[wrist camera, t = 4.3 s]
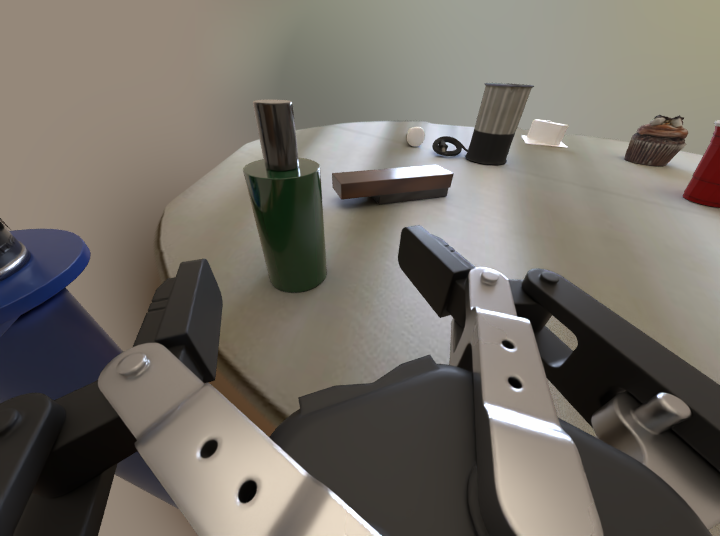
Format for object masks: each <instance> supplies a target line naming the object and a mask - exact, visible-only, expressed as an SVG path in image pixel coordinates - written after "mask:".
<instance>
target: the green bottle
mask: <svg viewBox="0 0 720 536" xmlns="http://www.w3.org/2000/svg"><path fill="white" fill-rule="evenodd" d="M253 106H254V111H255V116H256V121H257V126H258V132H259V137H260V142H261V148H262V153H263V158H264V159H262V160H258V161H255V162H252V163H250V164H248V165H246V166H245V167H244V168H243V172H244V176H245V180H246V184H247V188H248V192H249V196H250V200H251V205H252V209H253V213H254V217H255V221H256V225H257V229H258V233H259V237H260V241H261V245H262V250H263V254H264V258H265V262H266V266H267V270H268V274H269V278H270V282H271V283H272V285H273V286H274V287H275V288H277V289H279V290H281V291H285V292H304V291H307V290H310V289H313V288H315V287H317V286H318V285H319V284H321V283H322V282H323V281H324V279H325V277H326V275H327V267H326V252H325V237H324V222H323V206H322V191H321V176H320V165H319V164H318V163H317V162H315V161H312V160H309V159H304V158H298V150H297V141H296V132H295V123H294V114H293V105H292V102H291V101H286V100H257V101H254V102H253Z"/></svg>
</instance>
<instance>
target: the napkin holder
mask: <svg viewBox="0 0 720 536" xmlns="http://www.w3.org/2000/svg"><path fill="white" fill-rule="evenodd" d="M567 127H568V125H564V124H559V123H553V122H551V121H549V120H546V121H545V120H539V119H538V120H533V122H532V125H531V127H530V130H529V133H528V135H527V136H522V135H521V136H522V138H523V139H524V141H525V143H526V144H536V145H547V146H557V147H567V146H566V145H564V144H563V143H562V142H561V141H562V138H563V136H564V134H565V132H566V130H567ZM567 148H568V147H567Z"/></svg>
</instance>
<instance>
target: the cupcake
mask: <svg viewBox="0 0 720 536" xmlns="http://www.w3.org/2000/svg"><path fill="white" fill-rule="evenodd" d="M683 119H684V118H682V117H680V116H677V117H675V118H668V117H665V116H661V115H658V116H656V117H655V118H654V119H652V121H651V122H650V124H646V125H643V126H641V127H640V128H639V129H638V130H637V133H636V134H634V135H633V136H632V138H631V141H630V143H629V147H628V149H627V151H626V154H625V160H627V161H630V162H634V163H638V164H643V165H650V166H665V165H666V164H667V163H668V162H669V161H670V160H671V159H672V158H673V157H674V156H675V155H676V154H677V153H678V152H679V151H680V150H681V149H682V148H683V147H684V146H685V145H686V143H685V140H684V138H686V136H687V134H688V131H687V130H686V129H684V128H683V127H682V125H683V121H682V120H683Z"/></svg>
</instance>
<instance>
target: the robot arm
mask: <svg viewBox="0 0 720 536" xmlns="http://www.w3.org/2000/svg"><path fill="white" fill-rule="evenodd" d="M0 221H1V222H2V223H3V224H5V223H4V222H3V221H2V220H1V218H0ZM1 222H0V282H1V281H3V280H5V279H6V278H8V277H10V276H11V275H13V274H14V273H16V272H17V271H19V270H20V269H21V268H22V267H23V266H25V265H26V264H27V262H28V261H29V259H30V257H31V253H30V251H29V250H28V249H27V248H26V247H25V246H24V245H23V244H22V243H21V242H19V241H18V240H17V239H16V238H15V237H14V236H13V235H12V234H11V233H10V232H9V230H7V228H6V227H5V226H4V225H3V224H2V223H1ZM5 225H6V224H5ZM6 226H7V225H6ZM7 227H8V226H7ZM398 262H399V266H400V268H401V269H402V271H403V272H404V273H405V274H406V276H407V277H408V278H409V279H410V281H411V282H412V283H413V285H414V286H415V287H416V288H417V290H418V291H419V292H420V293H421V295H422V296H423V297H424V298H425V300H426V301H427V302H428V303H429V305H430V306H431V307H432V309H433V310H434V311H435V312H436V314H437V315H438V316H439V317H440V318H441V317H445V316H448V315H451V316H452V317H453V319H452V322H451V342H450V361H449V365H446V364H436V363H435V362H434V360H433V359H432V357H431V355H427V356H424V357H421V358H418V359H415V360H412V361H409V362H406V363H403V364H401V365H399V366H398V367H396V368H395V369H393V370H392V371H390V372H389V373H387V374H386V375H384V376H383V377H381V378H380V379H378V380H377V381H375V382H373V383H368V384H353V385H338V386H332V387H329V388H326V389H323V390H320V391H317V392H314V393H311V394H308V395H305V396H302V397H299V404H300V409H299V410H297V411H296V412H294V413H293V414H291V415H290V416H289V417H288V418H287V419H285V420H284V421H283V422H282V423H281V424H280V425H279V426H278V427H277V428H276V429H275V431H274V432H273V433H272V434H271V436H270V437H268V436H267V435H266V434H265V433H264V432H262V431H261V430H260V429H259V428H258V427H257V426H256V425H255V424H254V423H253V422H251V421H250V420H249V419H248V418H247V417H246V416H245V415H244V414H243V413H242V412H240V410H238V409H237V408H236V407H235V406H234V405H233V404H232V403H231V402H230V401H229V400H228V399H226V398H225V397H224V396H223V395H222V394H221V393H220V392H219V391H218V390H216V389H215V388H214V387H213V386H212V385H211V384H209V383H208V382H211V381H214V380H215V376H216V366H217V356H218V346H219V336H220V326H221V316H222V305H223V304H222V296H221V292H220V289H219V287H218V284H217V282H216V280H215V277H214V275H213V272H212V270H211V268H210V265H209V263H208V261H207V260H206V259H199V260H193V261H187V262H182V263H181V264H180V266H179V269H178V272H177V275H176V277H175V278H169V279H167V280H166V281H164V282H163V283H162V284H161V285H160V286H159V287H158V288H157V290H156V292H155V294H154V296H153V299H152V303H151V304H150V306H149V309H148V313H146V316H145V318H144V321H143V323H142V326H141V328H140V330H139V333H138V335H137V338H136V340H135V343H134V345H133V347H132V348H130V349H128V350H126V351H124V352H123V353H121V354H119V355H118V356H117V357H115V358H114V359H113V360H112V361H111V362H110V363H108V364H107V366H106V367H105V368H104V369H103V371H102V372H101V374H100V376H99V379H98V380H97V381H95V382H93V383H91V384H89V385H87V386H85V387H83V388H80V389H78V390H76V391H74V392H72V393H69V394H67V395H65V396H63V397H61V398H59V399H56V400H54V401H53V400H52V399H50V398H49V397H47V396H46V395H44V394H41V393H29V394H24V395H20V396H17V397H14V398H12V399H9V400H7V401H5V402H3V403H1V404H0V536H98V533H99V530H100V526H101V522H102V519H103V515H104V511H105V507H106V504H107V500H108V496H109V493H110V489H111V485H112V481H113V478H114V474H115V470H116V467H117V463H119V462H120V461H122V460H123V459H125V458H127V457H128V456H130V455H132V454H133V453H135V452H137V451H138V452H139V453H140V455H141V456H142V458H143V459H144V460H145V462H146V463H147V465H148V466H149V467H150V469H151V470H152V472H153V473H154V474H155V476H156V477H157V479H158V480H159V481H160V483H161V484H162V486H163V487H164V488H165V490H166V491H167V493H168V494H169V495H170V497H171V498H172V499H173V501H174V502H175V504H176V505H177V506H178V508H179V509H180V511H181V512H182V513H183V515H184V516H185V518H186V519H187V520H188V522H189V523H190V525H191V526H192V527H193V529H194V530H195V532H196V533H197V534H198V536H712V535H711V533H710V532H709V529H711V528H713V527H714V526H716V525H717V524H719V523H720V385H719V384H717V383H716V382H714V381H713V380H712V379H710V378H709V377H707V376H706V375H704V374H703V373H701V372H700V371H699V370H697V369H696V368H694V367H693V366H691V365H690V364H688V363H687V362H685V361H684V360H683V359H681V358H680V357H678V356H677V355H675V354H674V353H672V352H671V351H669V350H668V349H667V348H665V347H664V346H662V345H661V344H659V343H658V342H656V341H655V340H654V339H652V338H651V337H649V336H648V335H646V334H645V333H643V332H642V331H640V330H639V329H638V328H636V327H635V326H633V325H632V324H630V323H629V322H627V321H626V320H625V319H623V318H622V317H620V316H619V315H617V314H616V313H614V312H613V311H611V310H610V309H609V308H607V307H606V306H604V305H603V304H601V303H600V302H598V301H597V300H595V299H594V298H593V297H591V296H590V295H588V294H587V293H585V292H584V291H582V290H581V289H580V288H578V287H577V286H575V285H574V284H572V283H571V282H569V281H568V280H566V279H565V278H564V277H562V276H560V275H559V274H557V273H554V272H552V271H549V270H545V269H531V270H529V271H528V272H527V274H526V276H525V278H524V280H510V279H507V278H506V277H505V276H504V275H503V274H501V273H500V272H498V271H496V270H493V269H490V268H484V267H478V268H476V267H474V266H473V265H472V264H471V263H470V262H468V261H467V260H466V259H465V258H464V257H463V256H461V255H460V254H459V253H458V252H457V251H456V252H455V250H454V249H453V248H452V247H451V246H449V245H448V244H447V243H446V242H445V241H444V240H442V239H441V238H439V237H437V236H435V235H432V234H430V233H429V232H428V231H426V230H425V229H424V228H423V227H422V226H420V225H418V226H411V227H405V228H403V229H402V232H401V239H400V246H399V253H398ZM552 315H553V316H554V317H555V318H556V319H558V320H559V321H560V322H561V323H562V324H564V325H565V326H566V327H567V328H568V329H569V330H571V331H572V332H573V333H574V334H575V336H576V337H577V340H578V346H577V348H576V349H575V350H574V351H572V350H571V349H570V348H569V347H568V346H567V345H566V344H565V343H563V342H562V341H561V340H560V339H559V338H558V337H557V336H556V335H555V334H554V333H552V332H551V331H550V330H549V329H548V328H547V327H546V326H545V325H546V323H547V322H548V320H549V319H550V317H551V316H552ZM547 379H548V380H549V381H550V382H551V383H552V384H553V385H554V386H555V387H556V389H557V390H558V391H559V392H560V393H561V394H562V395H563V396H564V397H565V398H566V399H567V401H568V402H569V403H570V404H571V405H572V406H573V407H574V408H575V409H576V410H577V411H578V413H579V414H580V415H581V416H582V417H583V418H584V419H585V420H586V421H587V422H588V423H589V424H590V426H591V427H592V428H593V429H594V431H595V433H596V435H597V436H595V437H594V436H592V435H590V434H588V433H586V432H584V431H582V430H580V429H579V428H577V427H575V426H573V425H571V424H569V423H567V422H565V421H563V420H561V419H560V418H558V416H557V412H556V409H555V406H554V402H553V399H552V395H551V392H550V388H549V385H548V381H547Z"/></svg>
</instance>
